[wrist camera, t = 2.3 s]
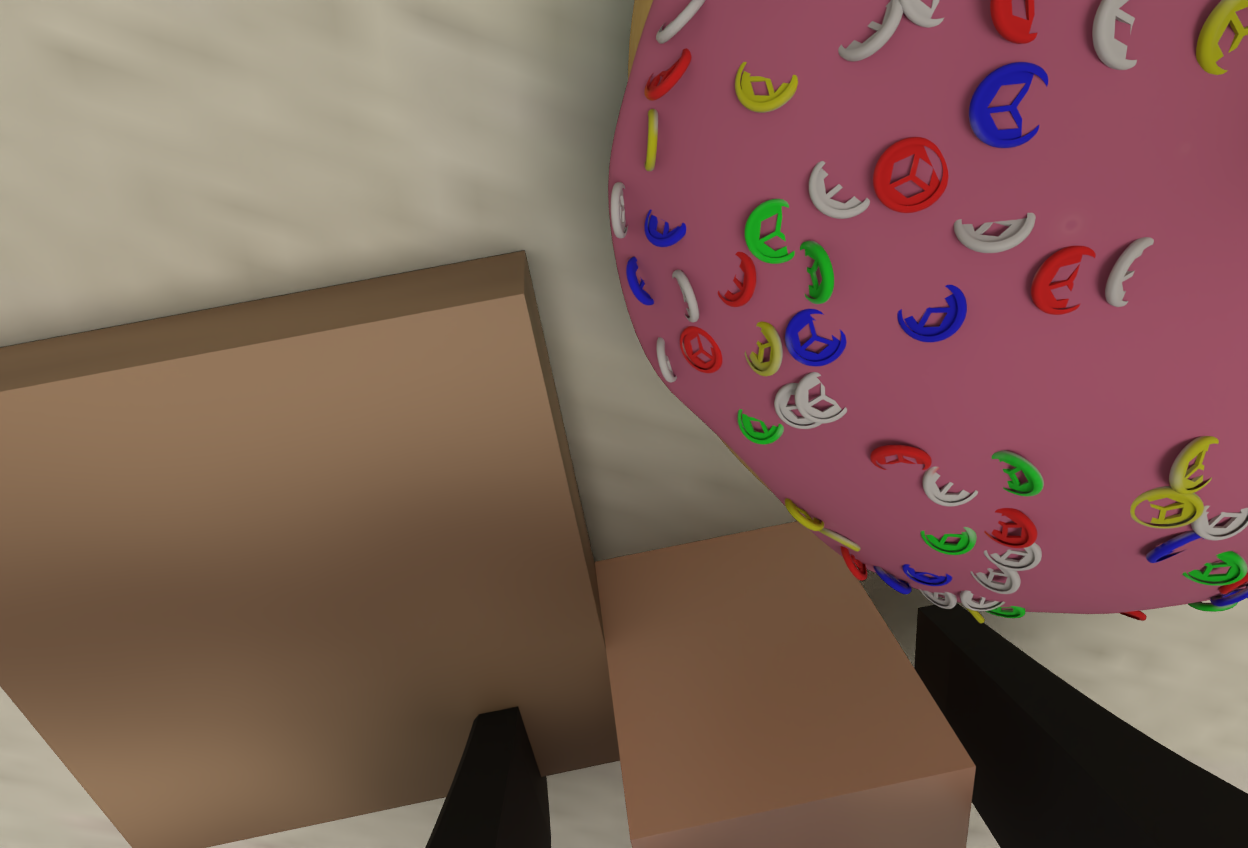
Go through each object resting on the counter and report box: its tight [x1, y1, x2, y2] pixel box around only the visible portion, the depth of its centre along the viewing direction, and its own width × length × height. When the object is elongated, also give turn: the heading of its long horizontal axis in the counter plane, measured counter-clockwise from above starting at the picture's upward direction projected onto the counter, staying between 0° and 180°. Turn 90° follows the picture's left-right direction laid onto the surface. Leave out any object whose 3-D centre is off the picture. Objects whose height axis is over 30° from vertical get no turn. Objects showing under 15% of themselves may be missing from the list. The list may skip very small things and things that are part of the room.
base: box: [0, 251, 620, 848], centre depth 11 cm, size 8×8×2 cm
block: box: [595, 521, 976, 848], centre depth 11 cm, size 4×4×5 cm
